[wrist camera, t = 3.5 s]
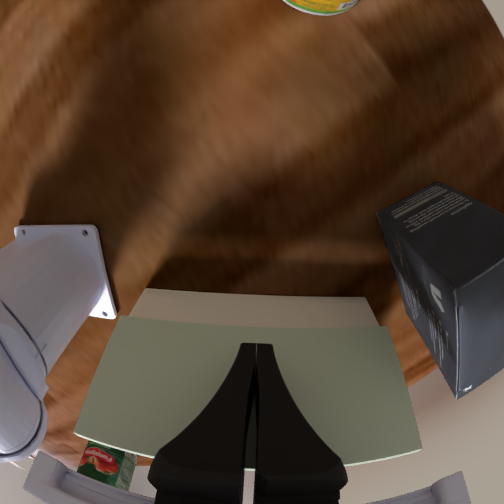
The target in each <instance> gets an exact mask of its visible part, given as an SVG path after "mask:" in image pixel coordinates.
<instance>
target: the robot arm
mask: <svg viewBox="0 0 504 504" xmlns="http://www.w3.org/2000/svg"><path fill="white" fill-rule="evenodd" d="M85 230H86V231H87V233H88V234H86V233H85ZM14 233H15V238H16V239H15V240H13V241H12V242H10V243H9V244H8V245H6V246H5V247H3V248H2V249H0V463H3V462H11V461H19V460H22V459H24V458H26V457H28V456H30V455H31V454H32V453H33V452H34V451H35V450H36V449H37V448H38V447H39V445H40V444H41V442H42V440H43V438H44V436H45V433H46V430H47V424H48V415H47V410H46V407H45V404H44V402H43V401H42V399H43V397H44V396H45V394H46V392H47V390H48V389H49V388H48V386H47V384H46V382H45V378H46V377H47V375H48V374H49V372H50V370H51V369H52V367H53V366H54V364H55V363H56V361H57V360H58V358H59V357H60V355H61V354H62V352H63V351H64V349H65V348H66V346H67V345H68V344H69V342H70V341H71V339H72V338H73V336H74V335H75V334H76V332H77V331H78V329H79V328H80V327H81V325H82V324H83V322H84V321H85V320H86V318H87V317H88V316H94V317H101V318H107V319H115V317H116V316H117V312H116V308H115V305H114V301H113V297H112V293H111V289H110V285H109V281H108V277H107V273H106V268H105V264H104V259H103V254H102V249H101V244H100V239H99V233H98V229H97V228H96V226H94V225H18V226H16V227H15V228H14ZM105 312H106V313H105ZM256 345H257V352H256ZM255 369H256V374H255ZM254 388H255V408H256V427H257V445H256V464H255V482H254V497H253V504H339V503H338V500H339V499H340V492H339V490H341V489H342V488H343V487H344V486H345V485H346V484H347V482H348V478H347V473H346V470H345V467H344V465H343V462H342V460H341V458H340V457H339V456H338V455H337V454H336V453H335V452H333V451H332V450H331V449H330V448H329V447H328V446H327V445H326V443H325V442H324V441H323V440H322V439H321V438H320V437H319V436H318V434H317V433H316V432H315V431H314V429H313V428H312V427H311V426H310V424H309V423H308V422H307V420H306V419H305V417H304V416H303V414H302V413H301V411H300V410H299V408H298V407H297V405H296V403H295V402H294V400H293V398H292V396H291V394H290V392H289V390H288V388H287V386H286V384H285V382H284V380H283V377H282V375H281V372H280V370H279V367H278V364H277V361H276V358H275V354H274V349H273V345H272V344H265V343H241V344H240V348H239V351H238V354H237V356H236V358H235V361H234V363H233V365H232V367H231V369H230V371H229V373H228V374H227V376H226V378H225V380H224V381H223V383H222V384H221V386H220V388H219V389H218V391H217V392H216V394H215V395H214V396H213V398H212V399H211V400H210V402H209V403H208V404H207V406H206V407H205V408H204V409H203V410H202V411H201V413H200V414H199V415H198V416H197V417H196V418H195V419H194V420H193V421H192V422H191V423H190V424H189V425H188V426H187V427H186V428H185V429H184V430H183V431H182V432H181V433H179V434H178V435H177V436H176V437H175V438H173V439H172V440H171V441H169V442H168V443H167V444H166V445H164V446H163V447H162V448H160V449H159V451H158V452H157V454H156V455H155V457H154V459H153V461H152V464H151V466H150V470H149V474H148V480H149V482H150V483H151V484H152V485H153V486H154V487H155V488H156V489H157V493H156V497H155V499H154V498H150V497H147V496H143V495H139V494H136V493H132V492H129V491H126V490H123V489H119V488H116V487H113V486H111V485H108V484H105V483H102V482H100V481H97V480H94V479H92V478H89V477H87V476H84V475H82V474H80V473H77V472H75V471H73V470H71V469H68V468H67V467H66V466H65V465H64V464H63V463H62V462H60V461H59V460H57V459H55V458H53V457H51V456H49V455H47V454H45V453H43V452H41V451H38V453H37V456H36V458H35V460H34V462H33V465H32V467H31V469H30V471H29V474H28V476H27V478H26V481H25V483H24V486H23V489H24V490H26V491H27V492H29V493H30V494H32V495H33V496H35V497H37V498H38V499H40V500H41V501H43V502H45V503H46V504H242V501H243V487H244V471H245V457H246V443H247V433H248V427H249V421H250V415H251V409H252V403H253V397H254ZM367 504H471V501H470V497H469V494H468V490H467V487H466V483H465V480H464V476H463V473H462V471H459V472H457V473H455V474H452V475H450V476H447V477H445V478H442V479H440V480H438V481H437V482H435V483H434V484H432V486H429V487H426V488H423V489H421V490H417V491H414V492H411V493H408V494H404V495H401V496H397V497H393V498H389V499H385V500H382V501H376V502H372V503H367Z"/></svg>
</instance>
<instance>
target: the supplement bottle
mask: <svg viewBox="0 0 504 504" xmlns="http://www.w3.org/2000/svg"><path fill="white" fill-rule="evenodd" d="M283 1H284V2H285V3H287V4H288V5H290V6H291V7H293V8H295V9H297V10H300V11H303V12H306V13H309V14H314V15H322V16H328V15H336V14H340V13H343V12H345V11H347V10H349V9H351V8H352V7H353V6H354V5H355V4H356V3H357V2H358V1H359V0H283Z"/></svg>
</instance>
